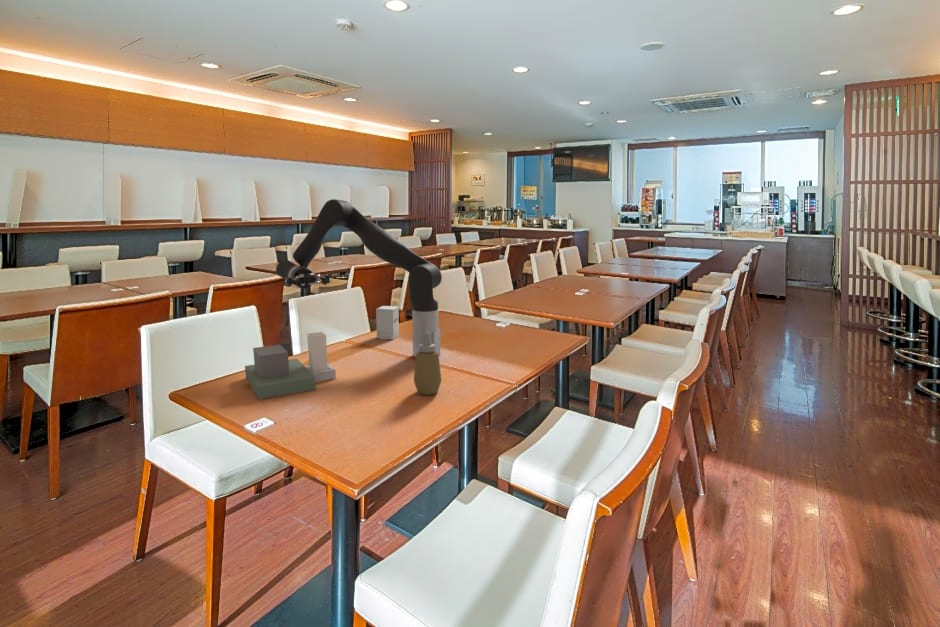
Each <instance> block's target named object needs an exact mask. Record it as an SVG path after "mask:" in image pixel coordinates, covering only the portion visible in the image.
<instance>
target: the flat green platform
mask: <svg viewBox="0 0 940 627" xmlns="http://www.w3.org/2000/svg"><path fill="white" fill-rule="evenodd" d="M252 351H253V352H252V353H253V360H254V362H253V364H248V365H244V372H245V379H246V381H247V380H248V381H247V382H248V384H249V386H250V385H251V386H250V387H251V389H252V391H253V390H254V391H253V392H255V393H254V394H255V396H256V395H257V396H256V398H257V397H258V398H257V400H259V399H261V398H266V399H269V398H268V397H272V398H275V397H274V396H278V397H282V396H281V395H283V396H287V395H286V394H289V395H293V394H292V393H295V394H299V393H298V392H300V393H304V392H303V391H306V392H310V390H312V391H316V390H317V388H316V387H317V386H316V383H319V382H324V381H329V380H330V379H331V380H335V378H336V379H337V376H336V375H337V374H336V373H337V372H336V368H334V366H332V365H331V364H330V363H328V362H327V364H328V370H324V371H318V372H312V373H311V372H310V370H309V365H304V364H303V363H302V362H301V360H299V359H298V358H291V359H290V358H289V353H288V352H289V351H288V350H286V348H284V346H283V345H282V344H274V345H265V346H259V347H253V348H252ZM261 400H262V399H261Z"/></svg>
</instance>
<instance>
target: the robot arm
mask: <svg viewBox="0 0 940 627" xmlns="http://www.w3.org/2000/svg"><path fill="white" fill-rule="evenodd" d="M334 226H342V227H345V228H346V229H348V230H350V231H351V232H352V233H354V234H356V235H357V237H359V239H360V240H361V242H362V243H363V245H364V247H365V248H366V249H367V250H368V251H370V252H371V253H372V254H373V255H375V256H376V257H377V258H379V259H381V260H383V261H384V262H386V263H389V264H391V265H394V266H396V267H399V268H400V269H403V270H405V271H406V272H407V273H409V274H408V293H409V301H410V305H411V311H412V312H411V314H412V317H411V318H412V322H411V323H412V356H413V357H414V358H415V357H416V354H417V352H419V345H420V344H423V340H424V335H425V333H426V332H429V335H430V339H431V343H432V344H435V351H436V352H437V353H438V354H439V356H440V355H441V329H440V328H439V302H438V301H437V300H436V299H435V298H434V291H433V290H434V289H435V288H437V287H438V286H439V285H440V284H441V283H442V280H443V278H442V276H443V275H442V272H441V269H439V267H438V266H436V265H435V264H433V263H431V262H430V261H428V260H427V259H426V258H424V257H422V256H420V255H418V254H417V253H416V252H414V251H412V250H411V249H410V248H409V247H408V246H406V245H405V244H403V243H402V242H401V241H400V240H398V239H397V238H396V237H394V236H393V235H391V233H389V232H387V230H385V229H383V228H382V227H380V226H379V225H378V224H376V223H374V222H373V221H371V220H370V219H368V218H367V217H365V215H364V214H362V213H361V212H360V211H359V210H358V209H357V208H356V207H355V206H354V205H353V204H351V203H350V202H349V201H346V200H343V199H341V200H340V199H336V198H335V199H334V198H333V199H329V200H327V201H326V202H325V203H324V205H323V206H322V208H321V210H320V211H319V213H318V215H317V217H316V219H315V221H314V223H313V224H312V226H311V228H310V230H309V232H308V233H307V234H306V236H305V238H304V239H303V240H302V241H301V243H300V244H299V245H297V248H296V249H295V250H294V251H293V253H292V258H293V260H294V261H295V262H296V263H297V264H296V263H294V262H292V261H290V260H288V259H283V260H280V261H279V262H278V263H277V264H276V267H275V268H276V269H275V272H276V274H277V276H278V277H281V278H282V279H284V280H285V285H286V286H287V287H288V286H289V287H292V286H294V287H297V288H299V289H304V290H305V289H308V288H310V287H312V286H313V285H316V286H317V285H324V286H325V285H327V284H330V283H331V280H330V275H328V274H324V273H322V274H315V273H314V272H313V271H312V270H311V269H310V268H309V265H310V264H311V262H312V261H313V259H314V258H315V257H316V256H317V255H318V254H319V252H320V250H321V247H322V245H323V242H324V239H325V236H326V235H327V233H328V232H329V231H330V230H331V229H332V228H333V227H334Z"/></svg>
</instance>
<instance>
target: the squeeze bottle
mask: <svg viewBox="0 0 940 627" xmlns="http://www.w3.org/2000/svg"><path fill="white" fill-rule="evenodd" d="M414 360H415V362H414V373H413V382H414V386H415V389H416V391H417V393H418V394H419V395H421V394H423V396H431V395H430V394H433V395H436V394H437V393H438V392H439V389H440V386H441V384H442V374H441V365H440V364H441V363H440V355H439V354H438V353H437V352H436V351H435V344H432V343H431V339H430V335H429V332H426V333H425V335H424V340H423V344H420V345H419V352H417V354H416V358H415V359H414ZM435 393H436V394H435Z"/></svg>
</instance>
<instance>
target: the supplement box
mask: <svg viewBox="0 0 940 627" xmlns="http://www.w3.org/2000/svg"><path fill="white" fill-rule="evenodd" d="M375 314H376V315H375V317H376V318H375V319H376V320H375V321H376V322H375V323H376V339H377V338H380V339H379V340H387V339H391V341H393V340H394V339H396V338H397V337H399V336H400V328H399V327H400V324H399V322H400V321H399V320H400V319H399V306H394V305H392V306H391V305H381V306H379V307H378V308H376V309H375Z"/></svg>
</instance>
